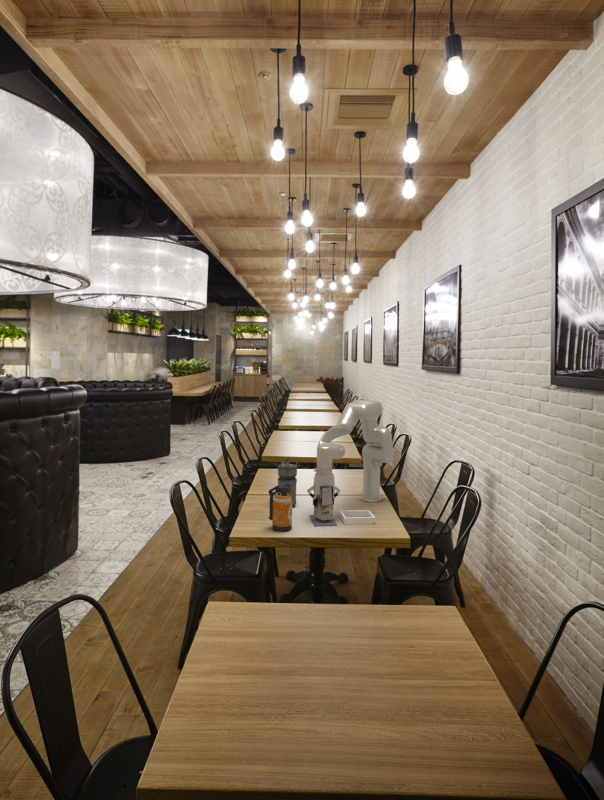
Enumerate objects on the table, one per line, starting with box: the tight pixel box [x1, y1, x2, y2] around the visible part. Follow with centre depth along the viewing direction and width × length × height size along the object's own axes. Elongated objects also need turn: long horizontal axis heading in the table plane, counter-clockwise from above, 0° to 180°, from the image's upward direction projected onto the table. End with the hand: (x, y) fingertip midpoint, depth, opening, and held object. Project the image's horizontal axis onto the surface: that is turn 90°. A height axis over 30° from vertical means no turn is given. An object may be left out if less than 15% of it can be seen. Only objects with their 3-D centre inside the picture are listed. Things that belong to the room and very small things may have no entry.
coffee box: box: [313, 486, 334, 520], centre depth 246 cm, size 9×6×16 cm
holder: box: [338, 509, 377, 525], centre depth 249 cm, size 12×15×3 cm
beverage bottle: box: [277, 458, 298, 508], centre depth 270 cm, size 10×13×25 cm
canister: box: [268, 484, 293, 532], centre depth 233 cm, size 9×11×20 cm
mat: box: [308, 514, 338, 527], centre depth 247 cm, size 16×11×1 cm
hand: (323, 506), depth 246 cm, fingers closed on coffee box, 7 cm apart
